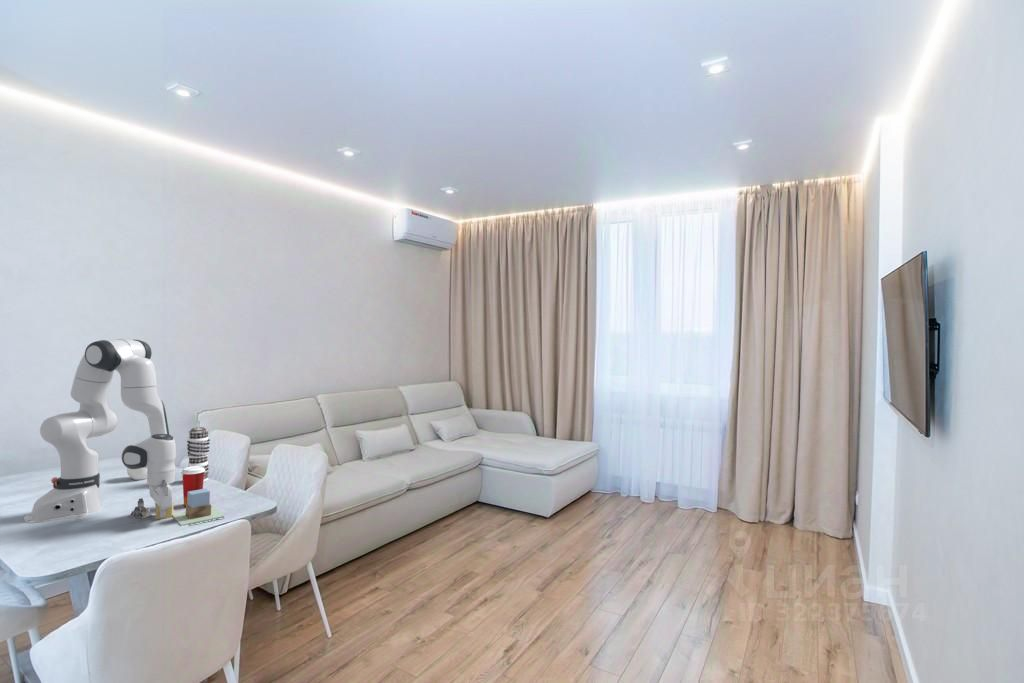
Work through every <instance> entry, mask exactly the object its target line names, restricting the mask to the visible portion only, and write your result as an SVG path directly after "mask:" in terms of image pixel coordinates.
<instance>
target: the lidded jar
mask: <svg viewBox="0 0 1024 683" xmlns="http://www.w3.org/2000/svg"><path fill="white" fill-rule="evenodd" d="M126 471H127V475H128V477H129V478H130V479H132V480H133V481H142V480H147V468H140V469H129V468H127V467H126Z"/></svg>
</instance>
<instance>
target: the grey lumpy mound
mask: <svg viewBox="0 0 1024 683" xmlns="http://www.w3.org/2000/svg"><path fill="white" fill-rule="evenodd" d="M150 512H151V510H150V507H145V502H144V499H143V497H141V498H139V499H138V501H137V506H135V507H134V510H133V511H131V513H130V515H128V518H133V519H141V520H143V519H147V518H149V517H152V516H153V515H152V514H151V513H150Z"/></svg>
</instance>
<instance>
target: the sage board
mask: <svg viewBox="0 0 1024 683" xmlns="http://www.w3.org/2000/svg"><path fill="white" fill-rule="evenodd" d="M172 518H174V520H175V521H176V522H177V523H178V524H179V525H180V526H186V525H187V526H189V525H191V524H196V523H200V522H205V521H209V520H213V519H219V518H224V519H225V515H224V514H223V513H222V512H220V511H219V509H217V508H216V507H215V506H211V515H209V516H204V517H200V518H195V519H189V518H188V517H187V516H186V511H183V512H179V513H178V512H177V513H173V514H172ZM205 523H206V522H205ZM200 524H201V523H200ZM196 525H197V524H196ZM191 526H192V525H191Z"/></svg>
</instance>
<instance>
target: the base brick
mask: <svg viewBox="0 0 1024 683" xmlns="http://www.w3.org/2000/svg"><path fill="white" fill-rule="evenodd" d="M211 507H212V504H211V503H210V504H209V505H204V506H199V507H195V508H191V507H189V506H188V505H186V507H185V512H186V516H187V517H188V518H189V519H195V518H200V517H204V516H209V515H211Z"/></svg>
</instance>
